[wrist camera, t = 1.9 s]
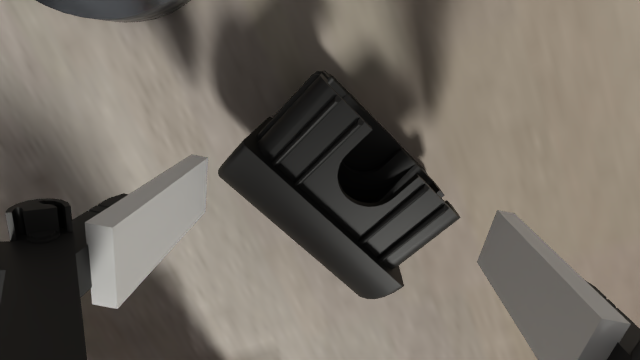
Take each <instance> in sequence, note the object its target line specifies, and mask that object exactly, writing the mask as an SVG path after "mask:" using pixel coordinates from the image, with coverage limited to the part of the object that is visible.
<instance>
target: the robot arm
mask: <svg viewBox="0 0 640 360" xmlns="http://www.w3.org/2000/svg"><path fill="white" fill-rule="evenodd" d="M207 169H208V157H202V156H197V155H190V156H188V157H187V158H185V159H184V160H182V161H180V162H179V163H177V164H176V165H174V166H173V167H171V168H169V169H168V170H166V171H165V172H163V173H162V174H160V175H158V176H157V177H155V178H154V179H152V180H151V181H149V182H147V183H146V184H144V185H143V186H141V187H140V188H138V189H137V190H135V191H133V192H132V193H130V194H129V195H128V194H121V195H118V196H114V197H111V198H108V199H107V200H105V201H103V202H102V203H100V204H98V206H95V207H93V208H92V209H90V210H89V212H88V211H87V212H85V213H83V214H82V215H80V216H78V217H77V218H75V219H73V220H72V216H71V207H70V205H69V203H68V202H65V201H63V200H59V199H36V200H29V201H25V202H22V203H18V204H16V205H14V206H12V207H10V208H9V209H8V210H7V211H6V213H5V215H6V221H7V226H8V232H9V237H10V242H0V360H87V356H86V346H85V337H84V328H83V318H82V309H81V300H80V297H82V296H83V295H84V294H85V293H86V292H87V291H88V290H89V289H90V288H91V296H92V304H94V305H99V306H104V307H109V308H115V309H118V308H119V307H120V306H121V305H122V303H123V302H124V301H125V300H126V299H127V298H128V297H129V296H130V295H131V294H132V292H133V291H134V290H135V289H136V288H137V287H138V286H139V285H140V284H141V282H142V281H143V280H144V279H145V278H146V277H147V276H148V275H149V274H150V273H151V271H152V270H153V269H154V268H155V267H156V266H157V265H158V264H159V263H160V262H161V260H162V259H163V258H164V257H165V256H166V255H167V254H168V253H169V252H170V250H171V249H172V248H173V247H174V246H175V245H176V244H177V243H178V242H179V241H180V239H181V238H182V237H183V236H184V235H185V234H186V233H187V232H188V231H189V230H190V228H191V227H192V226H193V225H194V224H195V223H196V222H197V221H198V220H199V218H200V217H201V216H202V215H203V214H204V213H205V210H206V190H207ZM477 263H478V264H479V266H480V268H481V269H482V271H483V272H484V274H485V276H486V277H487V279H488V280H489V282H490V284H491V285H492V287H493V288H494V290H495V292H496V293H497V295H498V296H499V298H500V300H501V301H502V303H503V304H504V306H505V308H506V309H507V311H508V312H509V314H510V316H511V317H512V319H513V320H514V322H515V324H516V325H517V327H518V328H519V330H520V332H521V333H522V335H523V336H524V338H525V340H526V341H527V343H528V344H529V346H530V348H531V349H532V351H533V352H534V354H535V356H536V357H537V359H538V360H640V328H638V327H637V326H636V325H635V324H634V323H633V322H632V321H631V320H630V319H629V318H628V317H627V316H626V315H625V314H624V313H622V312H621V311H620V310H619V309H618V308H616V306H615V305H614V304H613V303H612V302H611V301H610V300H609V299H606V297H605V296H604V295H603V294H602V293H601V292H600V291H599V290H598V289H597V288H596V287H595V286H593V285H592V284H590V283H589V282H587V281H586V280H584V279H583V278H582V277H581V276H580V275H579V274H578V273H577V272H576V271H575V270H574V269H572V268H571V267H570V266H569V265H568V264H567V263H566V262H565V261H564V260H563V259H562V258H561V257H560V256H559V255H558V254H557V253H556V252H555V251H554V250H553V249H551V248H550V247H549V246H548V245H547V244H546V243H545V242H544V241H543V240H542V239H541V238H540V237H539V236H538V235H537V234H536V233H535V232H534V231H533V230H531V229H530V228H529V227H528V226H527V225H526V224H525V223H524V222H523V221H522V220H521V219H520V218H519V217H518V216H517V215H516V214H515V213H510V212H505V211H499V210H497V212H496V215H495V217H494V220H493V222H492V225H491V228H490V230H489V233H488V235H487V238H486V240H485V243H484V246H483V248H482V251H481V253H480V256H479V258H478V261H477Z"/></svg>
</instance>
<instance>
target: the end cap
mask: <svg viewBox="0 0 640 360" xmlns="http://www.w3.org/2000/svg"><path fill="white" fill-rule="evenodd" d="M218 174H219V176H220V177H221V178H222V179H223V180H224V181H225V182H226V183H228V184H229V185H230V186H231V187H232V188H233V189H235V190H236V191H237V192H238V193H239V194H240V195H242V196H243V197H244V198H245V199H246V200H248V201H249V202H250V203H251V204H252V205H253V206H255V207H256V208H257V209H258V210H259V211H260V212H262V213H263V214H264V215H265V216H266V217H267V218H269V219H270V220H271V221H272V222H273V223H274V224H276V225H277V226H278V227H279V228H280V229H281V230H283V231H284V232H285V233H286V234H287V235H288V236H290V237H291V238H292V239H293V240H294V241H295V242H297V243H298V244H299V245H300V246H301V247H302V248H304V249H305V250H306V251H307V252H308V253H310V254H311V255H312V256H313V257H314V258H315V259H317V260H318V261H319V262H320V263H321V264H322V265H324V266H325V267H326V268H327V269H328V270H329V271H331V272H332V273H333V274H334V275H335V276H336V277H338V278H339V279H340V280H341V281H342V282H343V283H345V284H346V285H347V286H348V287H349V288H350V289H352V290H353V291H354V292H355V293H356V294H358V295H359V296H360V297H363V298H366V299H377V298H381V297H385V296H387V295H389V294H392V293H394V292H396V291H397V290H399V289H400V288H402V287H403V286H404V284H403V280H402V276H401V273H400V269H399V265H400V264H401V263H402V262H404V261H405V260H406V259H407V258H409V257H410V256H411V255H413V254H414V253H415V252H416V251H418V250H419V249H420V248H422V247H423V246H424V245H426V244H427V243H428V242H429V241H431V240H432V239H433V238H435V237H436V236H437V235H438V234H440V233H441V232H442V231H444V230H445V229H446V228H448V227H449V226H450V225H451V224H453V223H454V222H455V221H457V220H458V219H459V218H460V216H459V215H458V213H457V212H456V211H455V209H454V208H453V206H452V205H451V204H450V203H449V202H448V201H447V200H446V201H444V200H443V199H442V197H443V196H444V194H443V193H442V191H441V190H440V188H439V187H438V186H437V185H436V183H435V182H434V181H433V180H432V179H431V178H430V177H429V176H428V174H427V173H426V171H425V170H424V169H423V168H422V167H421V166H420V165H419V164H418V163H417V162H416V161H415V160H414V159H413V158H412V157H411V156H410V155H409V154H408V153H407V152H406V151H405V150H404V149H403V148H402V147H401V146H400V144H399V143H398V142H397V141H396V140H395V139H394V138H393V137H392V136H391V135H390V134H389V133H388V132H387V131H386V130H385V129H384V128H383V127H382V126H381V125H380V124H379V123H378V122H377V121H376V120H375V119H374V118H373V117H372V116H371V115H370V114H369V113H368V112H367V111H366V110H365V109H364V108H363V107H362V106H361V105H360V104H359V103H358V102H357V101H356V100H355V99H354V97H353V96H352V95H351V94H350V93H349V92H348V91H347V90H346V89H345V88H344V87H343V86H342V85H341V84H340V83H339V82H338V81H337V80H336V79H335V78H334V77H333V76H331V75H330V74H328V73H327V72H326V71H317V72H316V73H315V74H313V75H312V76H311V77H310V78H309V79H308V80H307V81H306V82H305V83H304V84H303V86H302V87H301V88H300V89H299V90H298V91H297V92H296V93H295V94H294V95H293V96H292V98H291V99H290V100H289V101H288V102H287V103H286V104H285V105H284V106H283V107H282V109H281V110H280V111H279V112H278V113H277V114H276V115H275V116H274V117H273V118H271V117H269V118H268V119H267V120H265V121H264V122H263V123H262V124H261V125H260V126H259V127H258V128H257V129H255V130H254V131H253V132H252V133H251V134H250V135H249V136H248V137H247V138H245V139H244V140H243V141H242V142H241V144H240V145H239V146H238V147H237V148H236V149H235V150H234V151H233V153H232V154H231V155H230V156H229V157H228V158H227V160H226V161H225V162H224V163H223V164H222V166H221V167H220V168H219V170H218Z"/></svg>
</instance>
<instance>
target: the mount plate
mask: <svg viewBox="0 0 640 360" xmlns="http://www.w3.org/2000/svg"><path fill="white" fill-rule="evenodd" d="M36 1H38V2H40V3H42V4H44V5H45V6H48V7H50V8H53V9H56V10H58V11H61V12H63V13H67V14H71V15H75V16H79V17H84V18H92V19H99V20H107V21H116V22H141V21H146V20H151V19H156V18H159V17H161V16H164V15H167V14H169V13H172V12H173V11H175V10H177V9H179V8H180V7H182V6H184V5H185V4H187V3H188V2H189V1H191V0H36Z"/></svg>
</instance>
